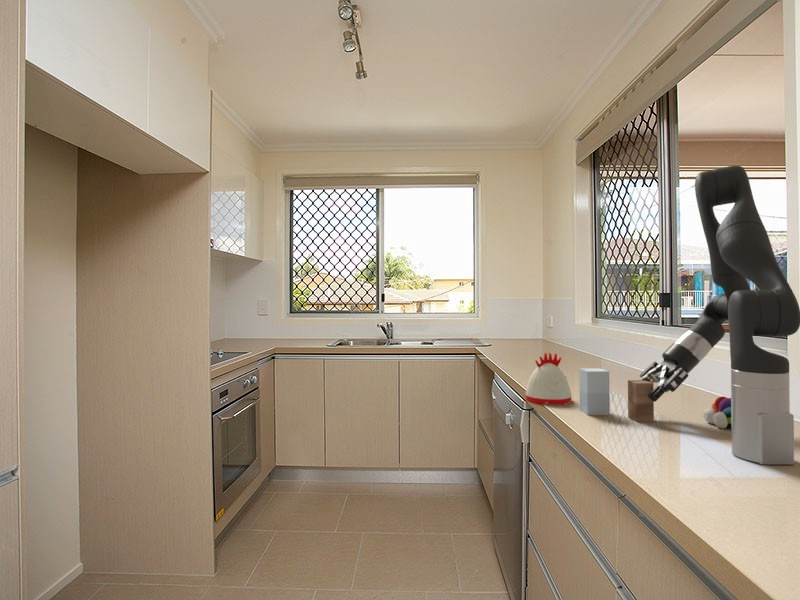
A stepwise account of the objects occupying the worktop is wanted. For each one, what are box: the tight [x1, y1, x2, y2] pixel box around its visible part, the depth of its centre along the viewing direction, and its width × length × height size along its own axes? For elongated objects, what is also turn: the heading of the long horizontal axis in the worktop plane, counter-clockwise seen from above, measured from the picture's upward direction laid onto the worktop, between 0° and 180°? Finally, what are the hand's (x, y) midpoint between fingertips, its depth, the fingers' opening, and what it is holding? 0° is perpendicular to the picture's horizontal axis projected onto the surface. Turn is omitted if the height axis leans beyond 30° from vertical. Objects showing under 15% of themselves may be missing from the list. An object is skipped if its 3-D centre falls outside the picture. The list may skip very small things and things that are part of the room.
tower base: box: [579, 389, 611, 416], centre depth 131 cm, size 6×6×6 cm
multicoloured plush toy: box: [702, 395, 731, 429], centre depth 117 cm, size 8×10×7 cm
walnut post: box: [627, 379, 655, 423], centre depth 123 cm, size 4×4×10 cm
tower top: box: [578, 367, 610, 393], centre depth 132 cm, size 6×6×6 cm
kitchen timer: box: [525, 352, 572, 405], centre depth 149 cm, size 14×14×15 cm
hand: (642, 395), depth 123 cm, fingers open, 8 cm apart
